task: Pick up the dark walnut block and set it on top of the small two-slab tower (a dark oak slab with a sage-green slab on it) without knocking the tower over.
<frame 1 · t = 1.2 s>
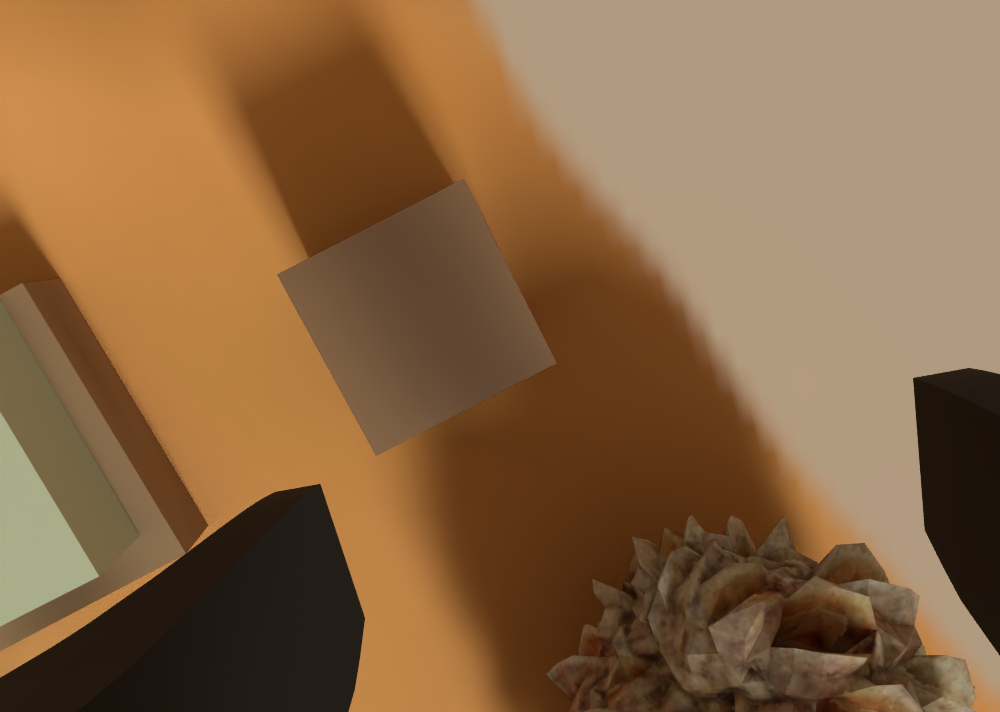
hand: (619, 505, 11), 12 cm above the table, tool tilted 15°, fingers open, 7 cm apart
walnut block: (423, 300, 23), on the table
slab bottom: (18, 466, 23), on the table
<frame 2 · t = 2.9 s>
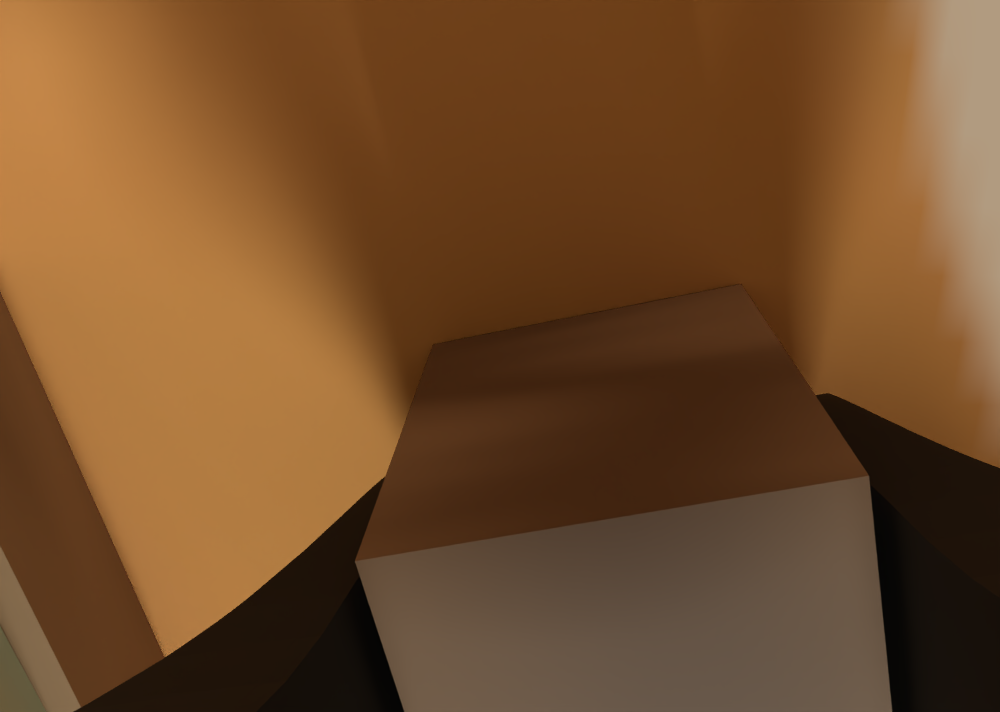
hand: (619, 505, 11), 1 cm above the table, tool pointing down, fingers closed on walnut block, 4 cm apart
walnut block: (611, 452, 12), on the table, touching gripper
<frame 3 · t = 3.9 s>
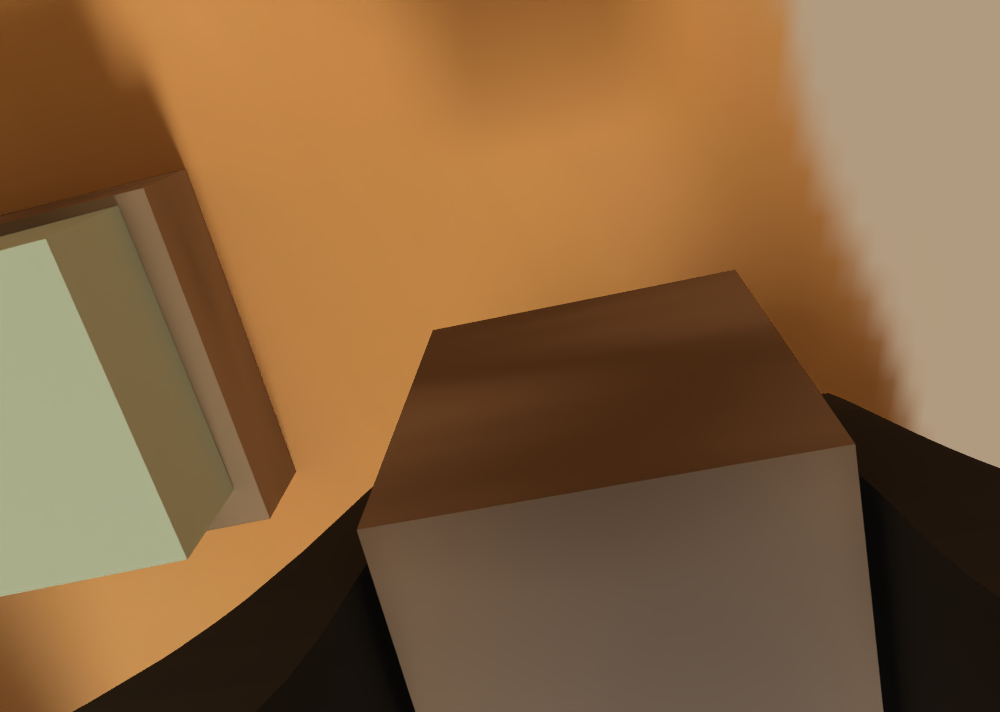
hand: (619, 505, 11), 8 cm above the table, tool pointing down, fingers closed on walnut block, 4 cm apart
walnut block: (608, 436, 13), point 7 cm above the table, touching gripper
slab top: (40, 388, 18), point 2 cm above the table, touching slab bottom
slab bottom: (105, 354, 20), on the table, touching slab top
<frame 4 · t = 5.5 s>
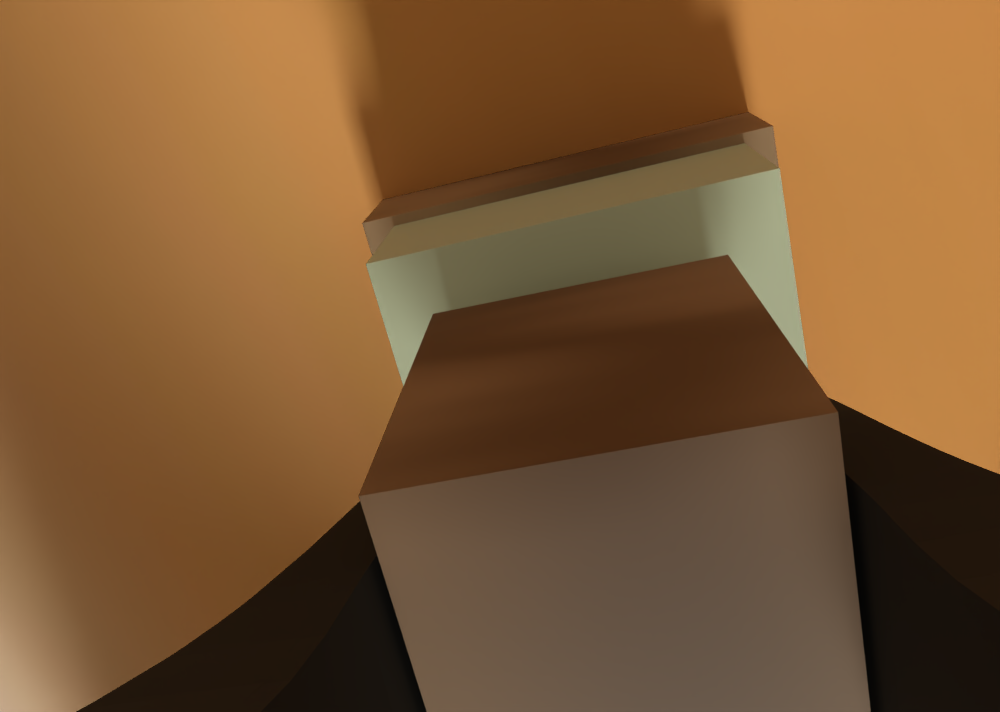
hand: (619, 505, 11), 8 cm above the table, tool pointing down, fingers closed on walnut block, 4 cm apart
walnut block: (604, 418, 13), point 6 cm above the table, touching gripper
slab top: (600, 349, 16), point 2 cm above the table, touching slab bottom
slab bottom: (597, 321, 19), on the table, touching slab top
when the fingers open (8 cm above the table, at t = 5.8 s): walnut block stays where it is, resting on slab top.
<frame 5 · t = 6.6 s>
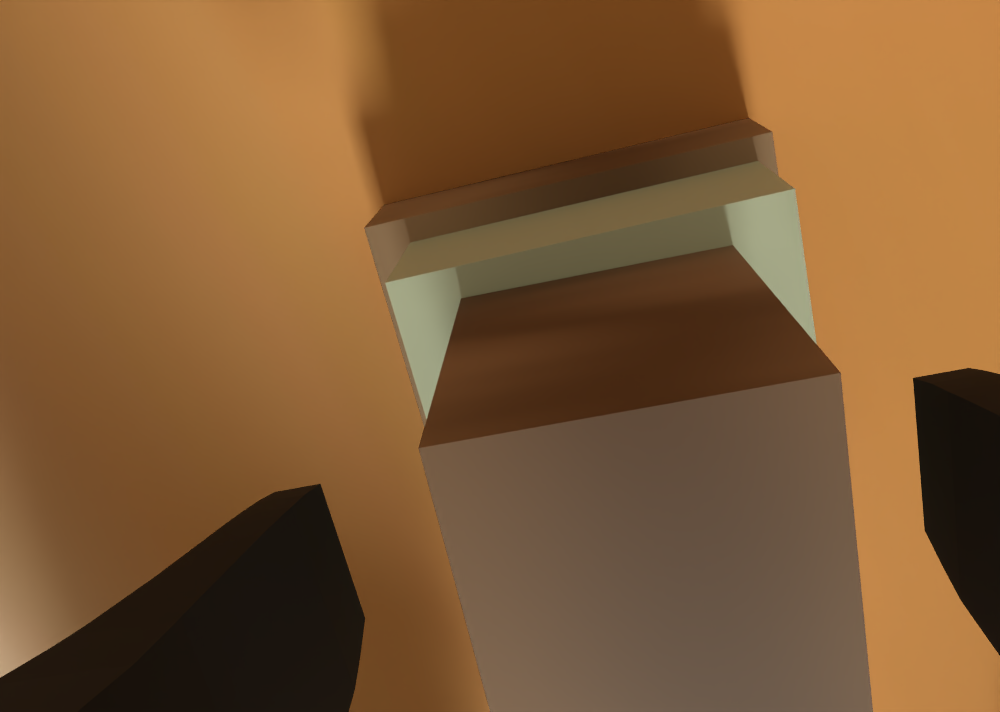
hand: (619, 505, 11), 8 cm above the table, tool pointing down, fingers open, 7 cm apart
walnut block: (617, 396, 14), point 4 cm above the table, touching slab top
slab top: (614, 363, 16), point 2 cm above the table, touching slab bottom, walnut block
slab bottom: (597, 325, 19), on the table, touching slab top
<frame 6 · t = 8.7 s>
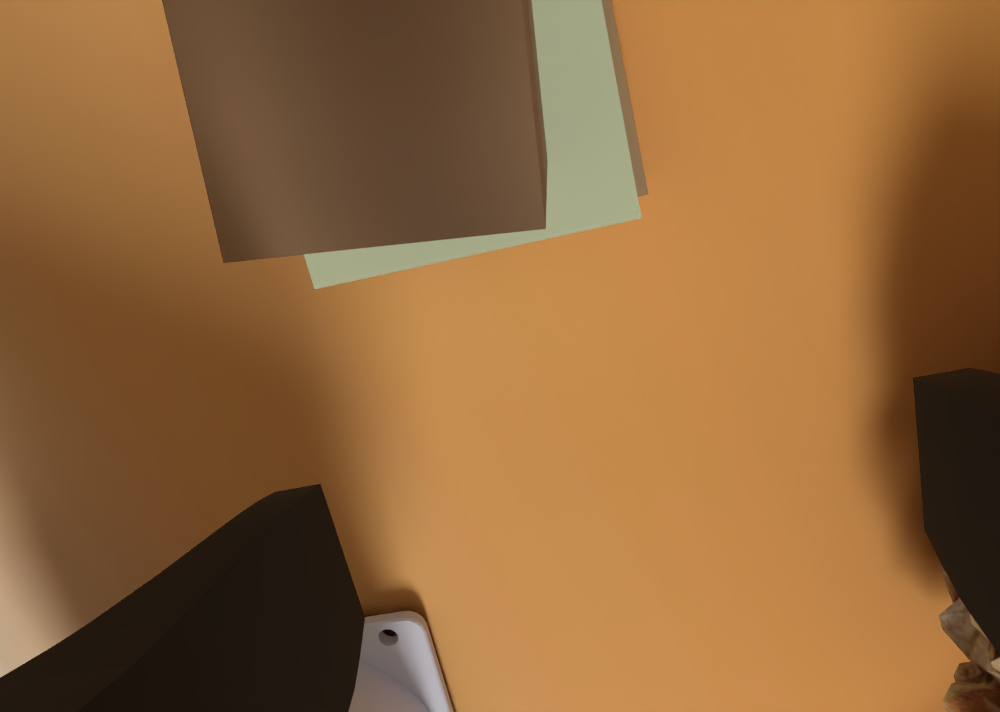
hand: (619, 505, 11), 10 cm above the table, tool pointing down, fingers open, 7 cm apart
walnut block: (414, 52, 15), point 4 cm above the table, touching slab top
slab top: (447, 73, 18), point 2 cm above the table, touching walnut block
slab bottom: (447, 52, 20), on the table
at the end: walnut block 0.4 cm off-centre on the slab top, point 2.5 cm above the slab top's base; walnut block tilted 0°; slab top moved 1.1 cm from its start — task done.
